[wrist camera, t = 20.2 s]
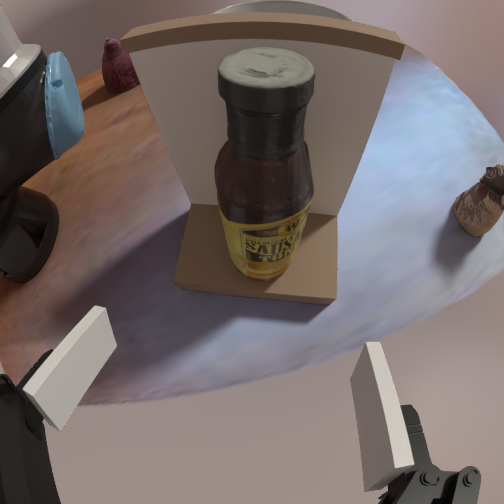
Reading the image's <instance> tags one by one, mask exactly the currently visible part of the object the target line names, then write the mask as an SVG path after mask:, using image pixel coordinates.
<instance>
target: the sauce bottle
mask: <svg viewBox="0 0 504 504" xmlns="http://www.w3.org/2000/svg"><path fill="white" fill-rule="evenodd" d="M314 81H315V70H314V67H313V65H312V63H311V62H310V61H309V60H308V59H307V58H305V57H304V56H302V55H300V54H298V53H295V52H293V51H289V50H285V49H278V48H269V47H259V48H250V49H244V50H241V51H238V52H235V53H232V54H230V55H228V56H227V57H225V58H224V59H223V60H222V61H221V63H220V65H219V66H218V92H219V95H220V96H221V97H222V98H223V100H224V101H225V102H226V111H227V123H228V126H227V136H228V140H227V141H226V142H225V144H224V145H223V147H222V148H221V149H220V151H219V153H218V157H217V160H216V163H215V167H214V168H215V171H214V172H215V176H214V177H215V185H216V188H217V201H218V206H219V210H220V214H221V218H222V223H223V227H224V231H225V236H226V240H227V244H228V249H229V253H230V257H231V259H232V261H233V263H234V265H235V267H236V269H237V270H238V271H239V272H240V273H241V274H242V275H243V276H245V277H247V278H249V279H251V280H254V281H269V280H273V279H275V278H277V277H280V276H281V275H282V274H283V273H284V272H285V271H286V270H287V269H288V268H289V267H290V265H291V264H292V263H293V260H294V258H295V255H296V252H297V249H298V246H299V242H300V239H301V236H302V233H303V229H304V226H305V222H306V219H307V216H308V212H309V209H310V205H311V202H312V198H313V194H314V185H313V178H312V171H311V164H310V158H309V151H308V146H307V144H306V142H305V141H304V133H305V130H304V122H305V117H306V109H307V104H308V103H309V101H310V99H311V97H312V96H313V93H314Z"/></svg>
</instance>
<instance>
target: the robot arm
mask: <svg viewBox="0 0 504 504" xmlns="http://www.w3.org/2000/svg"><path fill="white" fill-rule="evenodd" d="M84 128H85V123H84V114H83V109H82V105H81V100H80V96H79V93H78V89H77V86H76V83H75V79H74V76H73V74H72V71H71V68H70V66H69V63H68V61H67V59H66V58H65V57H64V55H63V53H62V52H56V53H52V54H50V55H49V56H48V57H46V56H45V54H44V52H43V51H42V49H41V47H40V46H39V45H36V44H35V45H34V44H22V43H20V41H19V39H18V38H17V36H16V34H15V32H14V30H13V29H12V27H11V25H10V23H9V21H8V19H7V17H6V15H5V14H4V12H3V10H2V8H1V6H0V274H1V275H2V276H4V277H5V278H7V279H9V280H11V281H13V282H15V283H23V282H26V281H28V280H29V279H31V278H32V277H33V276H34V275H35V274H36V273H37V272H38V271H39V270H40V269H41V268H42V266H43V265H44V263H45V262H46V260H47V258H48V256H49V254H50V252H51V250H52V248H53V245H54V242H55V239H56V236H57V231H58V225H59V214H58V210H57V207H56V205H55V203H54V202H53V201H52V200H51V199H50V198H48V197H47V196H46V195H45V194H43V193H41V192H38V191H35V190H32V189H29V188H27V187H24V186H21V185H22V184H23V183H25V182H26V181H27V180H28V179H30V178H31V177H32V176H33V175H35V174H36V173H37V172H39V171H40V170H41V169H43V168H44V167H45V166H47V165H48V164H49V163H51V162H52V161H53V160H55V159H56V160H58V159H59V158H60V157H61V155H62V154H63V153H65V152H66V151H67V150H69V149H70V148H72V147H73V146H74V145H76V144H77V143H78V142H79V141H80V140H81V138H82V136H83V133H84ZM116 347H117V344H116V341H115V338H114V335H113V332H112V328H111V325H110V321H109V318H108V314H107V310H106V308H104V307H100V306H96V305H95V306H94V307H93V308H92V309H91V310H90V311H89V312H88V313H87V314H86V315H85V316H84V318H83V319H82V320H81V321H80V322H79V323H78V324H77V325H76V326H75V327H74V328H73V329H72V331H71V332H70V333H69V334H68V335H67V336H66V337H65V338H64V340H63V341H62V342H61V343H60V344H59V345H58V346H57V348H56V349H55V350H52V349H51V350H49V351H47V352H46V353H44V354H43V355H42V356H41V357H40V359H39V360H38V362H36V363H35V364H34V366H33V368H31V369H30V370H29V372H28V373H27V374H26V375H25V376H24V378H23V379H22V380H21V381H20V383H19V384H18V385H17V386H16V387H15V385H14V384H13V382H12V381H11V379H10V378H9V376H8V375H6V374H0V504H61V502H60V499H59V496H58V492H57V489H56V485H55V481H54V477H53V473H52V468H51V464H50V459H49V454H48V448H47V442H46V435H45V428H44V424H43V422H42V421H43V419H45V420H46V421H47V422H48V423H49V425H51V426H52V427H54V428H56V429H57V430H59V431H61V430H62V429H63V427H64V426H65V424H66V422H67V421H68V419H69V418H70V416H71V414H72V413H73V411H74V410H75V408H76V406H77V405H78V403H79V402H80V400H81V399H82V397H83V396H84V394H85V392H86V391H87V389H88V388H89V386H90V385H91V383H92V382H93V380H94V379H95V377H96V376H97V374H98V373H99V371H100V370H101V368H102V367H103V366H104V364H105V363H106V361H107V360H108V358H109V357H110V355H111V354H112V353H113V351H114V350H115V348H116ZM350 382H351V387H352V394H353V400H354V406H355V413H356V420H357V427H358V434H359V442H360V450H361V460H362V469H363V481H364V491H365V492H367V491H374V490H380V489H382V488H384V487H385V486H386V485H388V491H387V492H385V493H384V494H382V495H381V496H380V497H379V499H381V498H382V499H381V501H380V502H379V503H378V504H477V500H478V495H479V489H480V483H481V474H480V472H479V470H478V469H477V468H476V467H473V466H468V467H465V468H464V469H462V470H461V471H460V472H450V471H441V470H440V469H439V468H438V467H437V466H435V465H433V464H432V462H431V460H430V457H429V452H428V448H427V444H426V440H425V437H424V433H423V429H422V426H421V425H420V419H419V416H418V413H417V412H416V410H415V409H414V408H413V406H412V405H402V406H400V404H399V400H398V397H397V393H396V390H395V386H394V384H393V380H392V377H391V374H390V370H389V368H388V364H387V362H386V358H385V355H384V352H383V350H382V347H381V344H380V342H365V345H364V347H363V350H362V353H361V355H360V358H359V360H358V363H357V365H356V367H355V369H354V372H353V374H352V376H351V378H350Z"/></svg>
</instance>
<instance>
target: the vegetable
mask: <svg viewBox="0 0 504 504" xmlns="http://www.w3.org/2000/svg"><path fill="white" fill-rule="evenodd" d="M102 73H103V79H104V82H105V85H106V88H107V90H108V92H110V93H121V92H125V91H128V90H130V89H132V88H133V87H135V86H137V85H139V84H140V81H139V79H138V76H137V73H136V71H135V68H134V66H133V63H132V60H131V58H130V55H129V53H128V54H125V53H124V50H123V48H122V45H121V43H120V42H118V41H116V40H115V39H106V42H105V46H104V53H103V58H102Z"/></svg>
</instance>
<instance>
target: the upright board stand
mask: <svg viewBox="0 0 504 504" xmlns="http://www.w3.org/2000/svg"><path fill="white" fill-rule="evenodd" d="M120 42H121V45H122V48H123V50H124V53H125V54H128V53H129V55H130V58H131V60H132V63H133V66H134V68H135V71H136V73H137V76H138V79H139V81H140V84H141V86H142V89H143V91H144V94H145V96H146V99H147V101H148V104H149V106H150V109H151V111H152V114H153V116H154V119H155V121H156V123H157V126H158V128H159V131H160V133H161V135H162V138H163V140H164V142H165V145H166V147H167V149H168V152H169V154H170V156H171V159H172V161H173V163H174V166H175V168H176V170H177V173H178V175H179V177H180V179H181V182H182V184H183V186H184V188H185V191H186V193H187V195H188V197H189V200H190V202H191V207H190V211H189V215H188V219H187V223H186V227H185V231H184V235H183V239H182V243H181V248H180V252H179V257H178V261H177V266H176V270H175V275H174V280H173V282H174V283H176V284H177V285H178V286H179V287H180V288H181V289H186V290H193V291H200V292H208V293H216V294H224V295H232V296H241V297H250V298H259V299H269V300H279V301H289V302H300V303H312V304H325V305H330V304H331V303H332V302H333V301H334V300H335V299H336V292H337V215H338V213H339V211H340V208H341V206H342V204H343V201H344V199H345V197H346V194H347V192H348V189H349V187H350V185H351V182H352V180H353V177H354V175H355V172H356V170H357V167H358V165H359V162H360V160H361V157H362V155H363V152H364V149H365V147H366V144H367V142H368V139H369V136H370V134H371V131H372V128H373V125H374V123H375V120H376V117H377V114H378V111H379V108H380V106H381V103H382V100H383V97H384V94H385V91H386V88H387V85H388V82H389V78H390V75H391V72H392V69H393V66H394V62H395V59H398V60H400V59H401V56H402V52H403V49H404V46H405V44H404V43H403V41H402V40H401V39H400V37H399V36H398V35H397V34H396V32H393V31H389V30H386V29H382V28H378V27H374V26H370V25H366V24H361V23H357V22H352V21H347V20H341V19H336V18H329V17H322V16H314V15H305V14H293V13H275V12H240V13H221V14H210V15H200V16H192V17H185V18H179V19H173V20H168V21H162V22H157V23H152V24H148V25H144V26H140V27H136V28H133V29H132V30H131V31H129V32H128V33H127V34H126V35H125V36H124V37H123V38H122V39H120ZM259 47H269V48H278V49H285V50H289V51H293V52H295V53H298V54H300V55H302V56H304V57H305V58H307V59H308V60H309V61H310V62H311V63H312V65H313V67H314V70H315V81H314V93H313V96H312V97H311V99H310V101H309V103H308V104H307V109H306V117H305V122H304V130H305V133H304V141H305V142H306V144H307V146H308V151H309V158H310V164H311V171H312V178H313V185H314V194H313V198H312V202H311V205H310V209H309V212H308V216H307V219H306V222H305V226H304V229H303V233H302V236H301V239H300V242H299V246H298V249H297V252H296V255H295V258H294V260H293V263H292V264H291V265H290V267H289V268H288V269H287V270H286V271H285V272H284V273H283V274H282V275H281V276H280V277H277V278H275V279H273V280H269V281H254V280H251V279H249V278H247V277H245V276H243V275H242V274H241V273H240V272H239V271H238V270H237V269H236V267H235V265H234V263H233V261H232V259H231V257H230V253H229V249H228V244H227V240H226V236H225V231H224V227H223V223H222V218H221V214H220V210H219V206H218V201H217V188H216V185H215V177H214V176H215V172H214V171H215V168H214V167H215V163H216V160H217V157H218V153H219V151H220V149H221V148H222V147H223V145H224V144H225V142H226V141H227V140H228V136H227V126H228V123H227V111H226V102H225V101H224V100H223V98H222V97H221V96H220V95H219V92H218V66H219V65H220V63H221V61H222V60H223V59H224V58H225V57H227V56H228V55H230V54H232V53H235V52H238V51H241V50H244V49H250V48H259Z"/></svg>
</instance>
